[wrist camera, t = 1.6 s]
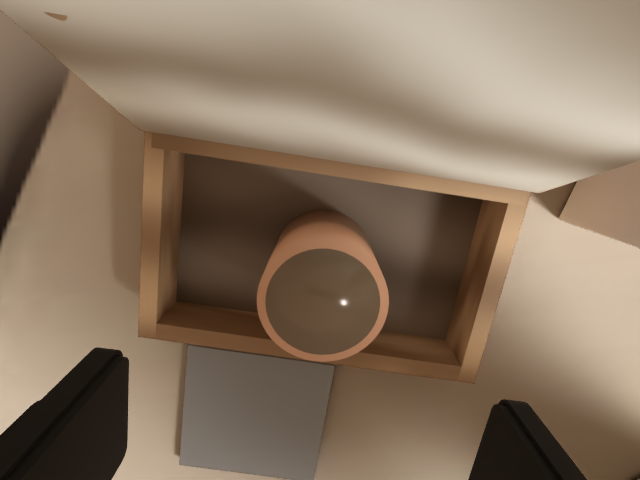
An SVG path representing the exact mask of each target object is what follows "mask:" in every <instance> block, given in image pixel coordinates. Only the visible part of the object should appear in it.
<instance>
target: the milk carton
mask: <svg viewBox="0 0 640 480" xmlns="http://www.w3.org/2000/svg"><path fill="white" fill-rule="evenodd" d="M559 219H560V220H562V221H564V222H567V223H570V224H573V225H576V226H578V227H581V228H584V229H587V230H590V231H593V232H595V233H598V234H601V235H604V236H607V237H609V238H612V239H615V240H618V241H621V242H624V243H626V244H629V245H632V246H635V247H638V248H640V160H639V161H636V162H633V163H630V164H627V165H624V166H621V167H618V168H615V169H612V170H609V171H606V172H603V173H600V174H597V175H593V176H590V177H587V178H584V179H581V180H578V181H577V183H576V185H575V187H574V189H573V191H572V193H571V195H570V197H569V199H568V201H567V203H566V205H565V207H564V209H563V211H562V213H561V215H560V217H559Z"/></svg>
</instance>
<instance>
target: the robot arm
mask: <svg viewBox="0 0 640 480" xmlns="http://www.w3.org/2000/svg"><path fill="white" fill-rule="evenodd" d="M128 379H129V360H128V358H127V357H123V354H122V352H121V351H120V350H113V349H105V348H94V349H93V350H92V351H91V352H90V353H89V354H88V355H87V356H86V357H85V358H84V359H82V360H81V361H80V362H79V363H78V364H77V365H76V366H75V367H74V368H73V369H72V370H71V371H70V372H69V373H68V374H67V375H66V376H65V377H64V378H63V379H62V380H61V381H60V382H59V383H58V384H57V385H56V386H55V387H54V388H53V389H52V390H51V391H50V392H49V393H48V394H47V395H46V396H45V397H44V398H43V399H41V400H40V401H37V402H36V403H34V404H33V405H32V406H30V407H29V408H28V409H27V410H26V411H25V412H24V413H23V414H22V415H21V416H20V417H19V418H18V419H17V420H16V421H15V422H14V423H13V424H12V425H11V426H10V427H8V428H7V429H6V430H5V431H4V432H3V433H2V434H1V435H0V480H111V479H112V478H113V476H114V474H115V473H116V471H117V469H118V467H119V466H120V464H121V462H122V460H123V458H124V456H125V453H126V449H127V431H128ZM468 480H587V479H586V478H585V477H584V475H583V474H582V473H581V471H580V470H579V469H578V468H577V466H576V465H575V464H574V462H573V461H572V460H571V459H570V457H569V456H568V455H567V453H566V452H565V451H564V449H563V448H562V447H561V446H560V444H559V443H558V442H557V440H556V439H555V438H554V437H553V435H552V434H551V433H550V431H549V430H548V429H547V428H546V426H545V425H544V424H543V422H542V421H541V420H540V419H539V417H538V416H537V415H536V413H535V412H534V411H533V409H532V408H531V407H530V406H529V405H528V404H527V403H525V402H520V401H512V400H505V399H504V400H501V401H500V402H499V403H498V405H497V404H496V405H494V406H493V407H492V409H491V412H490V416H489V419H488V422H487V425H486V428H485V431H484V434H483V437H482V440H481V443H480V446H479V449H478V452H477V455H476V458H475V461H474V464H473V467H472V470H471V473H470V476H469V479H468ZM637 480H640V478H639V479H637Z"/></svg>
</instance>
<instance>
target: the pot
mask: <svg viewBox="0 0 640 480" xmlns="http://www.w3.org/2000/svg"><path fill="white" fill-rule="evenodd" d="M388 307H389V294H388V288H387V285H386V281H385V279H384V277H383V274H382V272H381V270H380V267H379V265H378V263H377V260H376V258H375V256H374V253H373V251H372V249H371V246H370V244H369V242H368V239H367V237H366V235H365V233H364V232H363V230H362V229H361V227H360V226H359V225H358V224H357V223H356V222H355V221H354V220H352V219H351V218H349V217H348V216H346V215H344V214H342V213H339V212H336V211H332V210H314V211H310V212H307V213H304V214H302V215H300V216H298V217H296V218H295V219H293V220H292V221H291V222H290V223H289V224H288V225H287V226H286V227H285V228H284V230H283V231H282V233H281V235H280V237H279V239H278V241H277V243H276V246H275V248H274V250H273V252H272V255H271V257H270V259H269V262H268V264H267V266H266V268H265V271H264V273H263V275H262V278H261V280H260V283H259V286H258V291H257V310H258V314H259V318H260V321H261V323H262V326H263V327H264V329H265V331H266V333H267V334H268V335H269V337H270V338H271V339H272V340H273V341H274V342H275V343H276V344H277V345H278V346H279V347H281V348H282V349H283V350H285V351H286V352H288V353H290V354H292V355H294V356H296V357H299V358H302V359H305V360H310V361H319V362H327V361H336V360H340V359H344V358H347V357H349V356H352V355H354V354H356V353H358V352H359V351H361V350H362V349H364V348H365V347H367V346H368V345H369V344H370V343H371V342H372V341H373V340H374V339H375V338H376V336H377V335H378V334H379V332H380V330H381V329H382V327H383V325H384V323H385V320H386V317H387V314H388Z"/></svg>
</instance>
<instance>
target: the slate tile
mask: <svg viewBox="0 0 640 480" xmlns="http://www.w3.org/2000/svg"><path fill="white" fill-rule="evenodd" d="M334 368H335V364H330V363H323V362H316V361H309V360H302V359H295V358H287V357H280V356H273V355H266V354H259V353H252V352H245V351H237V350H230V349H223V348H216V347H209V346H202V345H194V344H188V347H187V361H186V375H185V390H184V404H183V418H182V433H181V447H180V461H179V465H184V466H192V467H200V468H207V469H215V470H223V471H231V472H238V473H246V474H254V475H262V476H269V477H277V478H285V479H292V480H314V475H315V470H316V465H317V459H318V454H319V449H320V443H321V438H322V433H323V427H324V422H325V417H326V411H327V406H328V401H329V395H330V390H331V384H332V379H333V374H334Z"/></svg>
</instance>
